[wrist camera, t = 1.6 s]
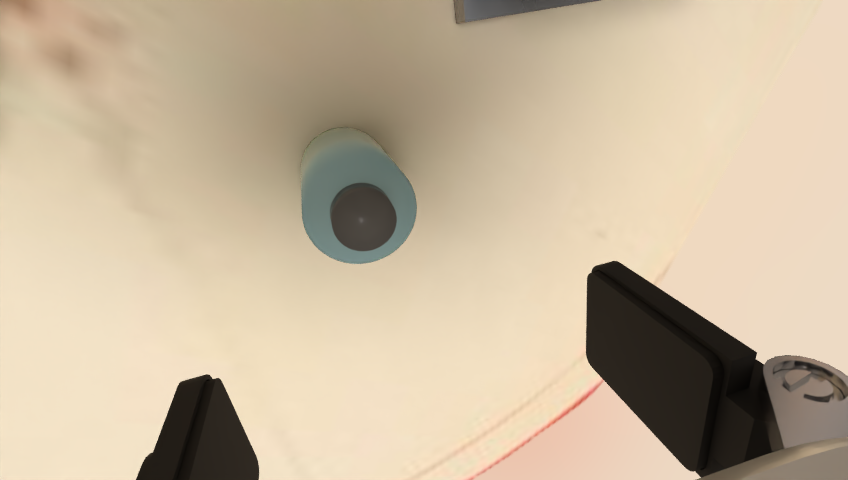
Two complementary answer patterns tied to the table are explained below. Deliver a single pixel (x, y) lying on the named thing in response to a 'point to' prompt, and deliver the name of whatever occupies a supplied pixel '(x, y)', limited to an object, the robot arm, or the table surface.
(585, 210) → the table surface
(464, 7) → the motor
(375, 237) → the teal cylinder with cap
